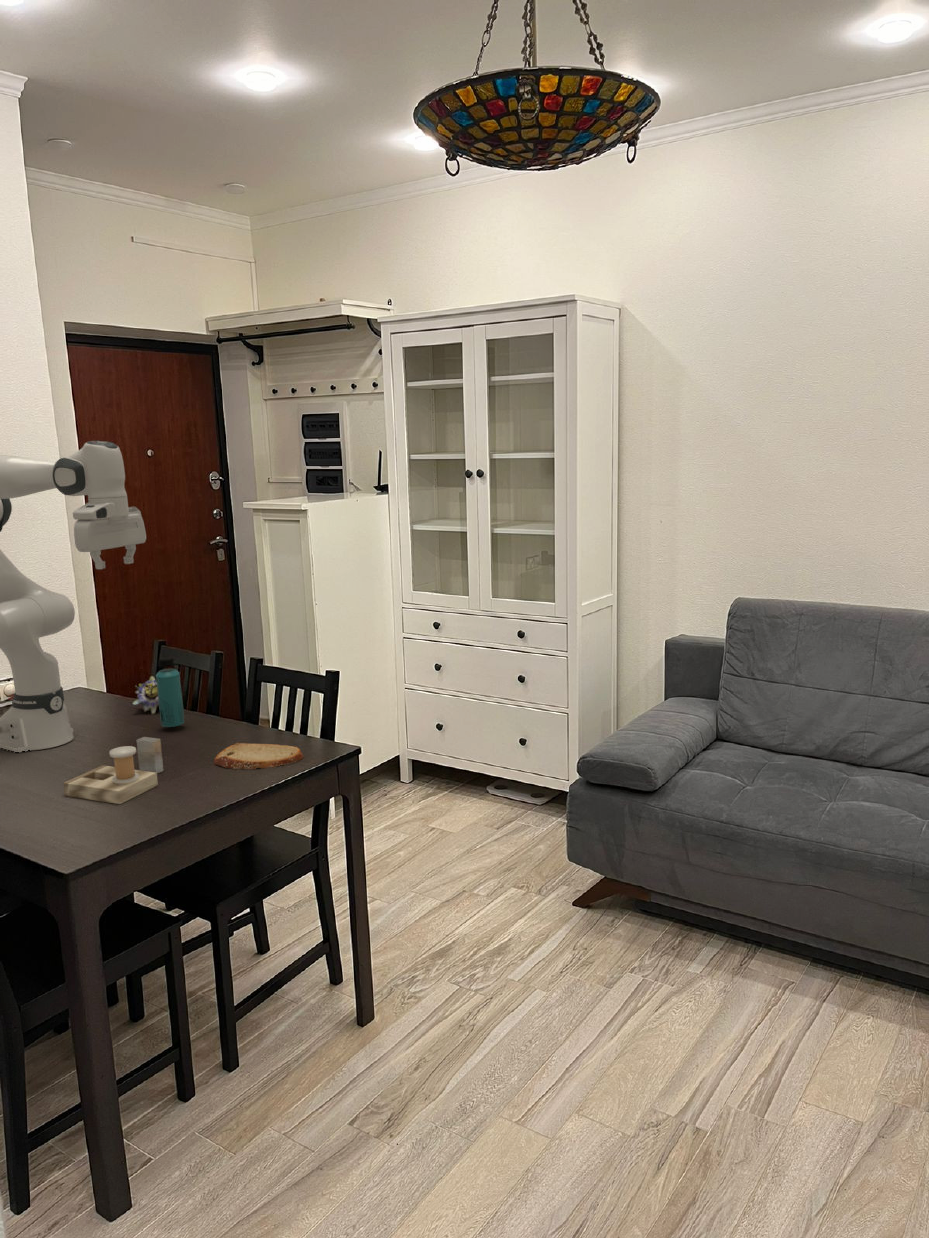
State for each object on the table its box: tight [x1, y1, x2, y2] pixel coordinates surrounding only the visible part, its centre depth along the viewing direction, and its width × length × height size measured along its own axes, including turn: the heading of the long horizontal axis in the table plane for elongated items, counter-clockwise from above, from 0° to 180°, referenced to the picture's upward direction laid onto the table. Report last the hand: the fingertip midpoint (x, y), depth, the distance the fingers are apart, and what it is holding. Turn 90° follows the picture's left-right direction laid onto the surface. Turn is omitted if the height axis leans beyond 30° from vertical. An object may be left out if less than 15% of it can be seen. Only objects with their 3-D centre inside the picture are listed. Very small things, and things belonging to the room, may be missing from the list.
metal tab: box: [136, 736, 164, 775], centre depth 225 cm, size 5×2×8 cm, turn 67°
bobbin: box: [109, 745, 139, 785], centre depth 211 cm, size 6×6×7 cm
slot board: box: [63, 765, 159, 805], centre depth 214 cm, size 16×12×3 cm
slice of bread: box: [213, 742, 304, 770], centre depth 231 cm, size 18×18×4 cm
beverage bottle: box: [155, 656, 186, 728], centre depth 257 cm, size 6×7×20 cm
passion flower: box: [131, 675, 159, 715], centre depth 278 cm, size 11×11×12 cm
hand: (115, 566), depth 230 cm, fingers open, 8 cm apart
